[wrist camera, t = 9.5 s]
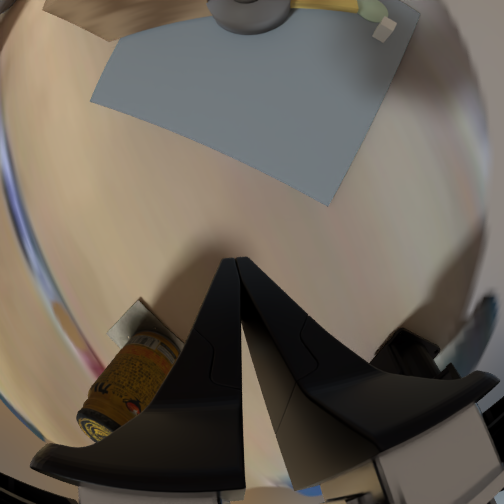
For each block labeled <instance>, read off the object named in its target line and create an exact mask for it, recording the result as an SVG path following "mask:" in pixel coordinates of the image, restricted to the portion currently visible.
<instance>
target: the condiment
mask: <svg viewBox="0 0 504 504" xmlns="http://www.w3.org/2000/svg"><path fill="white" fill-rule="evenodd" d="M155 328H156V329H155ZM106 334H107V335H108V336H109V337H110V338H111V339H112V340H113V341H114V342H115V343H116V344H117V345H118V347H119V348H121V350H120V351H119V353H118V354H117V355H116V356H115V358H114V359H113V360H112V361H111V363H110V364H109V365H108V366H107V368H106V369H105V370H104V372H103V373H102V374H101V375H100V376H99V377H98V379H97V380H96V382H95V383H94V384H93V385H92V386H91V388H90V390H89V393H88V399H87V400H86V401H85V402H84V404H83V408H82V409H81V410H80V411H78V414H77V417H76V419H77V422H78V424H79V426H80V428H81V429H82V430H83V432H84V433H85V434H86V435H87V436H88V437H89V438H91V439H92V440H93V441H94V442H96V443H97V442H98V441H100V440H102V439H103V438H105V437H106V436H108V435H109V434H111V433H112V432H114V431H115V430H117V429H118V428H120V427H121V426H123V425H124V424H125V423H127V422H128V421H130V420H131V419H133V418H134V417H136V416H137V415H138V414H140V413H141V412H142V411H143V410H144V409H145V408H146V407H147V406H148V405H149V404H150V402H151V401H152V399H153V398H154V396H155V395H156V393H157V391H158V390H159V388H160V386H161V385H162V383H163V381H164V380H165V378H166V377H167V375H168V373H169V372H170V370H171V368H172V367H173V365H174V363H175V362H176V360H177V358H178V356H179V354H180V353H181V351H182V349H183V347H184V343H183V342H182V341H180V340H179V339H178V338H177V337H176V336H175V335H174V334H173V333H171V332H170V331H169V330H168V329H167V328H166V327H164V326H163V325H162V323H161V322H160V321H159V320H158V319H157V318H156V317H155V316H154V315H153V314H152V313H151V312H150V311H148V310H147V309H146V308H145V307H144V306H143V305H142V304H141V303H140V301H139V300H138V301H137V302H136V303H135V304H134V305H133V306H132V307H131V308H130V309H129V310H128V311H127V312H126V313H125V314H124V315H123V316H122V317H121V318H120V319H119V320H118V322H117V323H116V324H115V325H114V326H113V327H112V328H111V329H110V330H109V331H108V332H107V333H106ZM128 336H129V338H128Z"/></svg>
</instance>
